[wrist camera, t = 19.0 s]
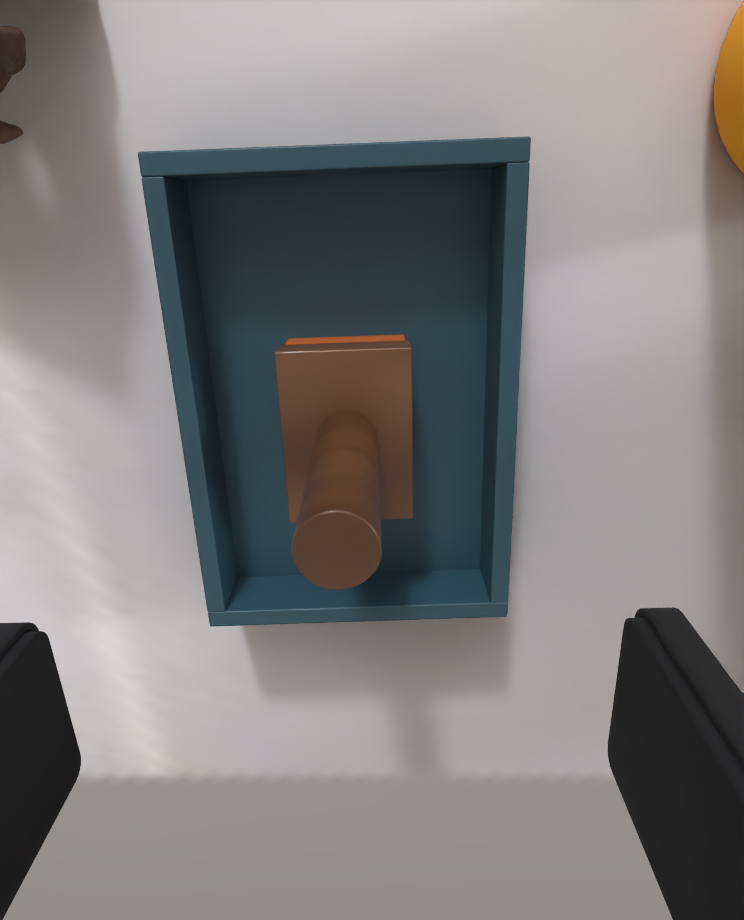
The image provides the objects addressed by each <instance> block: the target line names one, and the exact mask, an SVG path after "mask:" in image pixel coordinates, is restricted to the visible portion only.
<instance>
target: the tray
mask: <svg viewBox="0 0 744 920" xmlns="http://www.w3.org/2000/svg"><path fill="white" fill-rule="evenodd" d="M530 143H531V138H530V137H506V138H481V139H455V140H430V141H405V142H379V143H354V144H328V145H303V146H278V147H252V148H227V149H201V150H176V151H150V152H139V153H138V158H139V164H140V171H141V176H142V185H143V191H144V198H145V204H146V211H147V217H148V224H149V230H150V237H151V244H152V250H153V257H154V263H155V270H156V276H157V283H158V289H159V296H160V303H161V309H162V316H163V322H164V329H165V335H166V342H167V348H168V355H169V362H170V368H171V375H172V381H173V388H174V394H175V401H176V407H177V414H178V420H179V427H180V434H181V440H182V447H183V453H184V460H185V466H186V473H187V479H188V486H189V493H190V499H191V506H192V512H193V519H194V525H195V532H196V538H197V545H198V552H199V558H200V565H201V571H202V578H203V584H204V591H205V597H206V604H207V611H208V616H209V622H210V626H237V625H267V624H298V623H328V622H359V621H389V620H420V619H450V618H480V617H506V616H507V612H508V595H509V574H510V554H511V533H512V513H513V492H514V472H515V451H516V431H517V410H518V390H519V369H520V349H521V328H522V308H523V288H524V267H525V247H526V226H527V206H528V185H529V165H530V164H529V160H530ZM401 334H403V335H404V336H405V340H406V341H409V342H410V345H411V348H412V420H413V507H414V517H413V519H387V520H381V539H382V555H381V560H380V563H379V565H378V567H377V569H376V570H375V572H374V573H373V574H372V575H371V576H370V577H369V578H368V579H367V580H366V581H364V582H363V583H361V584H359V585H357V586H355V587H352V588H348V589H342V590H332V589H326V588H322V587H320V586H317V585H315V584H313V583H311V582H310V581H308V580H307V579H306V578H305V577H304V576H303V575H302V574H301V573H300V572H299V570H298V569H297V567H296V565H295V563H294V561H293V557H292V540H293V536H294V532H295V528H296V523H297V522H295V523H291V522H290V521H289V510H288V499H287V488H286V477H285V466H284V455H283V444H282V433H281V422H280V411H279V399H278V388H277V377H276V366H275V355H274V353H275V351H276V350H277V348H278V347H279V346H280V345H285V343H286V342H287V340H288V339H289V338H316V337H344V336H373V335H401Z"/></svg>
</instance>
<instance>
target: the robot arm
mask: <svg viewBox="0 0 744 920" xmlns="http://www.w3.org/2000/svg"><path fill="white" fill-rule="evenodd" d="M608 757H609V763H610V767H611V770H612V773H613V775H614V777H615V780H616V782H617V785H618V787H619V790H620V792H621V794H622V797H623V799H624V802H625V804H626V807H627V809H628V811H629V814H630V816H631V819H632V821H633V824H634V826H635V828H636V831H637V833H638V836H639V838H640V840H641V843H642V845H643V848H644V850H645V853H646V855H647V857H648V860H649V862H650V865H651V867H652V869H653V872H654V875H655V877H656V879H657V882H658V884H659V887H660V889H661V891H662V894H663V896H664V899H665V901H666V904H667V906H668V909H669V911H670V913H671V916H672V918H673V920H744V693H742V692H741V691H740V689H739V688H738V687H737V685H736V684H735V683H734V681H733V680H732V679H731V677H730V676H729V675H728V673H727V672H726V671H725V669H724V668H723V667H722V665H721V664H720V663H719V661H718V660H717V659H716V657H715V656H714V655H713V653H712V652H711V651H710V649H709V648H708V647H707V645H706V644H705V643H704V641H703V640H702V639H701V637H700V636H699V635H698V633H697V632H696V630H695V629H694V628H693V626H692V625H691V624H690V622H689V621H688V620H687V618H686V617H685V616H684V614H683V613H682V612H681V611H680V610H679V609H677V608H641V609H639V610H638V611H637V612H636V614H635V618H628V619H626V621H625V623H624V629H623V636H622V644H621V651H620V658H619V666H618V673H617V681H616V688H615V695H614V703H613V710H612V718H611V725H610V733H609V740H608ZM80 766H81V756H80V751H79V747H78V744H77V740H76V736H75V733H74V729H73V725H72V722H71V718H70V714H69V711H68V707H67V704H66V700H65V696H64V693H63V689H62V685H61V682H60V678H59V674H58V671H57V667H56V663H55V660H54V656H53V652H52V649H51V645H50V641H49V638H48V636H47V634H46V633H45V632H42V631H39V630H38V628H37V627H36V625H35V624H33V623H0V920H3V918H4V916H5V914H6V912H7V910H8V908H9V906H10V905H11V903H12V901H13V899H14V897H15V895H16V893H17V891H18V889H19V888H20V886H21V884H22V882H23V880H24V878H25V876H26V874H27V872H28V871H29V869H30V867H31V865H32V863H33V861H34V859H35V857H36V855H37V854H38V852H39V850H40V848H41V846H42V844H43V842H44V840H45V839H46V837H47V835H48V833H49V831H50V829H51V827H52V825H53V823H54V822H55V819H56V818H57V816H58V813H59V812H60V810H61V808H62V806H63V805H64V802H65V801H66V799H67V797H68V795H69V793H70V791H71V789H72V788H73V786H74V784H75V782H76V780H77V777H78V775H79V771H80Z"/></svg>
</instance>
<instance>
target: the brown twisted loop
mask: <svg viewBox="0 0 744 920" xmlns="http://www.w3.org/2000/svg"><path fill="white" fill-rule="evenodd" d="M25 46H26V45H25V38H24V35H23V33H22V31H21V30H20V29H19V28H18V27H14V26H0V93H1V92H2V91H3V90H4V88H5V87H6V85H7V83H8V81H9V80H10V78H11V76H12V75H14V74H15V73H17V72H19V71H21V70H22V69H23V67H24V65H25V62H26V50H25ZM22 133H23V132H22V130H21V128H19V127H18V126H16V125H12V124H8V123H6V122H3V121H1V120H0V144H4V143H7V142H9V141H11V140H13V139H15V138H17V137H19V136H21V135H22Z"/></svg>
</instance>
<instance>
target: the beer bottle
mask: <svg viewBox="0 0 744 920" xmlns="http://www.w3.org/2000/svg"><path fill="white" fill-rule="evenodd" d="M713 96H714V109H715V119H716V123H717V126H718V130H719V134H720V138H721V140H722V142H723V144H724V146H725V148H726V150H727V152H728V154H729V156H730V158H731V159H732V160H733V161H734V163H735V164H736V165H737V166H738V168H739V169H740V170H741V171H742V173H744V2H743V3H742V5H741V7H740V8H739V10H738V12H737V13H736V15H735V17H734V18H733V20H732V22H731V25H730V27H729V30H728V32H727V34H726V37H725V39H724V42H723V44H722V48H721V52H720V56H719V60H718V64H717V68H716V72H715V83H714V95H713Z"/></svg>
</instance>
